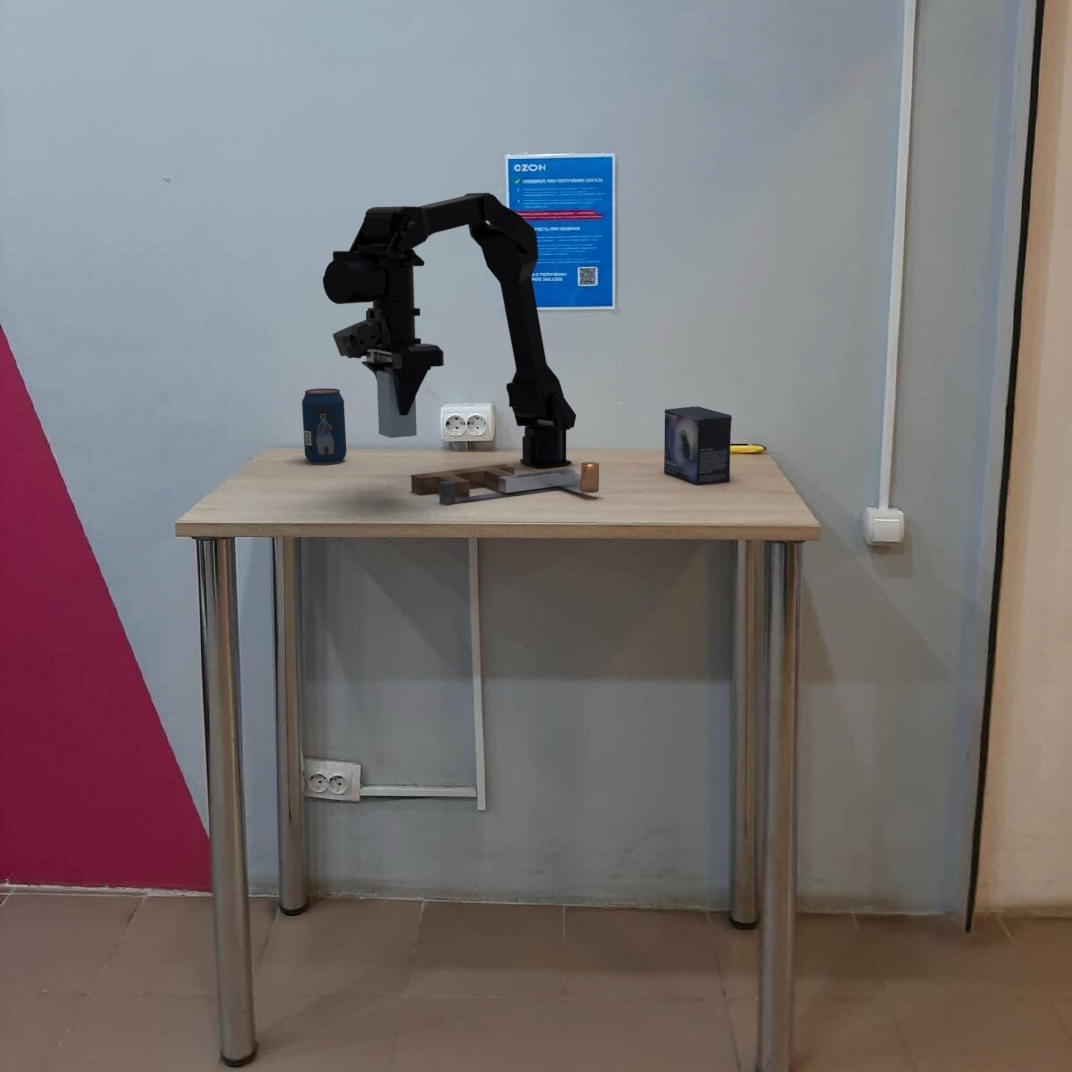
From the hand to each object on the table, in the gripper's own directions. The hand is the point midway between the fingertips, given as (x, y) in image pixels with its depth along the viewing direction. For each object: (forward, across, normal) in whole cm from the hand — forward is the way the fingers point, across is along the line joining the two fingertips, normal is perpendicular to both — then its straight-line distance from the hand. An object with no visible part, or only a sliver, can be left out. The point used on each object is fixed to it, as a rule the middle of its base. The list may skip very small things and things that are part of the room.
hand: (397, 413), depth 165 cm
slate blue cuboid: (+3, 0, 0) cm, 3 cm away
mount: (+13, +1, +15) cm, 20 cm away
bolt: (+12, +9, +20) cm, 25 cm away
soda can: (+13, -34, +2) cm, 36 cm away
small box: (+13, +10, +46) cm, 49 cm away
